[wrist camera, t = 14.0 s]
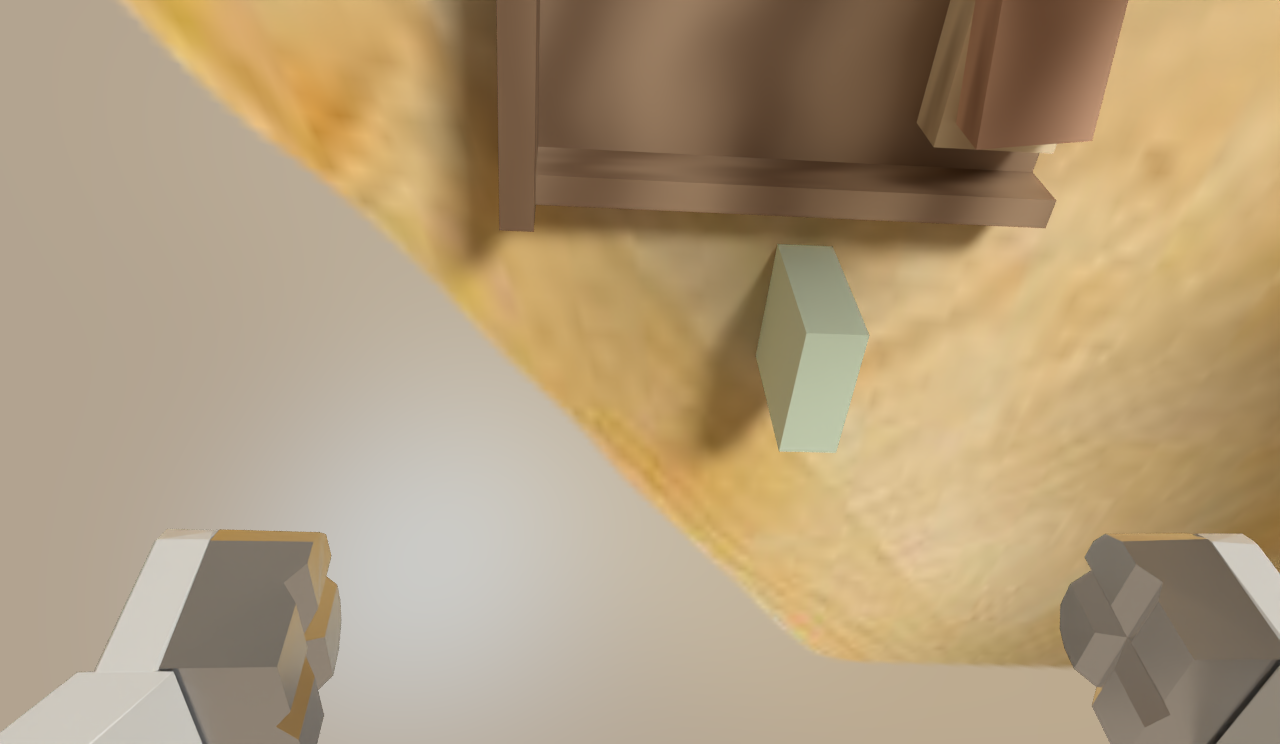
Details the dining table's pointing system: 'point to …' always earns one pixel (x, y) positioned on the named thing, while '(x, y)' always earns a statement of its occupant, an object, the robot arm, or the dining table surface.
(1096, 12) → the offcut
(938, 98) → the offcut
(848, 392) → the pale green brick
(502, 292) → the dining table surface
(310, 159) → the dining table surface
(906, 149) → the tray
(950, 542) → the dining table surface
